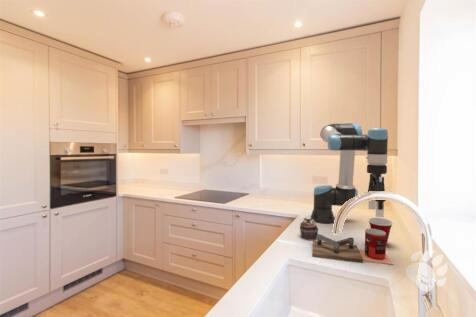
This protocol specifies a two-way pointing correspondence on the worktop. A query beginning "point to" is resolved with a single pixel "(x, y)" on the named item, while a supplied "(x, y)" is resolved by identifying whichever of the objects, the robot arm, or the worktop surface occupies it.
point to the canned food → (375, 244)
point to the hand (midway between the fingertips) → (375, 212)
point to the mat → (367, 259)
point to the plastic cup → (381, 225)
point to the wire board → (342, 252)
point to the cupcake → (308, 229)
